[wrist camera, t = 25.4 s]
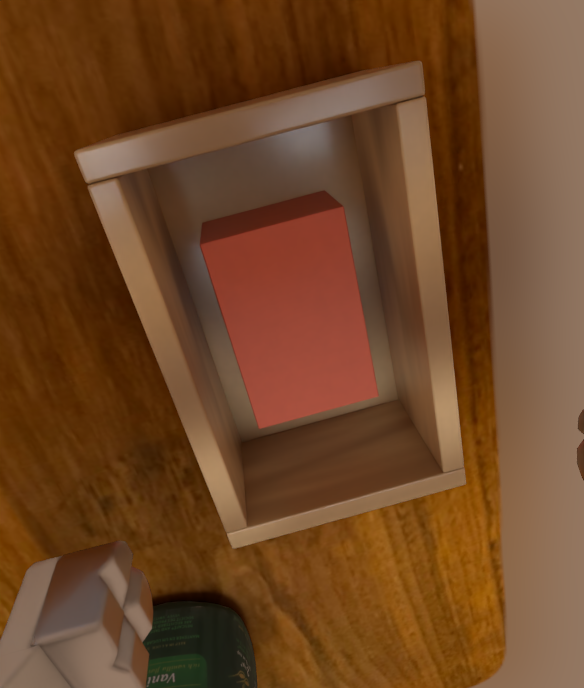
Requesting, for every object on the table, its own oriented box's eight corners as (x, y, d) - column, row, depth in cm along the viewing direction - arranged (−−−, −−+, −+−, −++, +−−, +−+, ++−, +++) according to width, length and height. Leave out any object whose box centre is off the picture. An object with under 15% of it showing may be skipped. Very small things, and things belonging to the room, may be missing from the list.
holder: (113, 135, 17) (71, 151, 12) (363, 70, 17) (423, 58, 12) (228, 452, 23) (232, 550, 18) (412, 402, 23) (467, 485, 18)
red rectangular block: (201, 222, 18) (199, 244, 16) (325, 189, 18) (344, 205, 16) (253, 387, 21) (258, 429, 19) (358, 359, 21) (379, 396, 19)
